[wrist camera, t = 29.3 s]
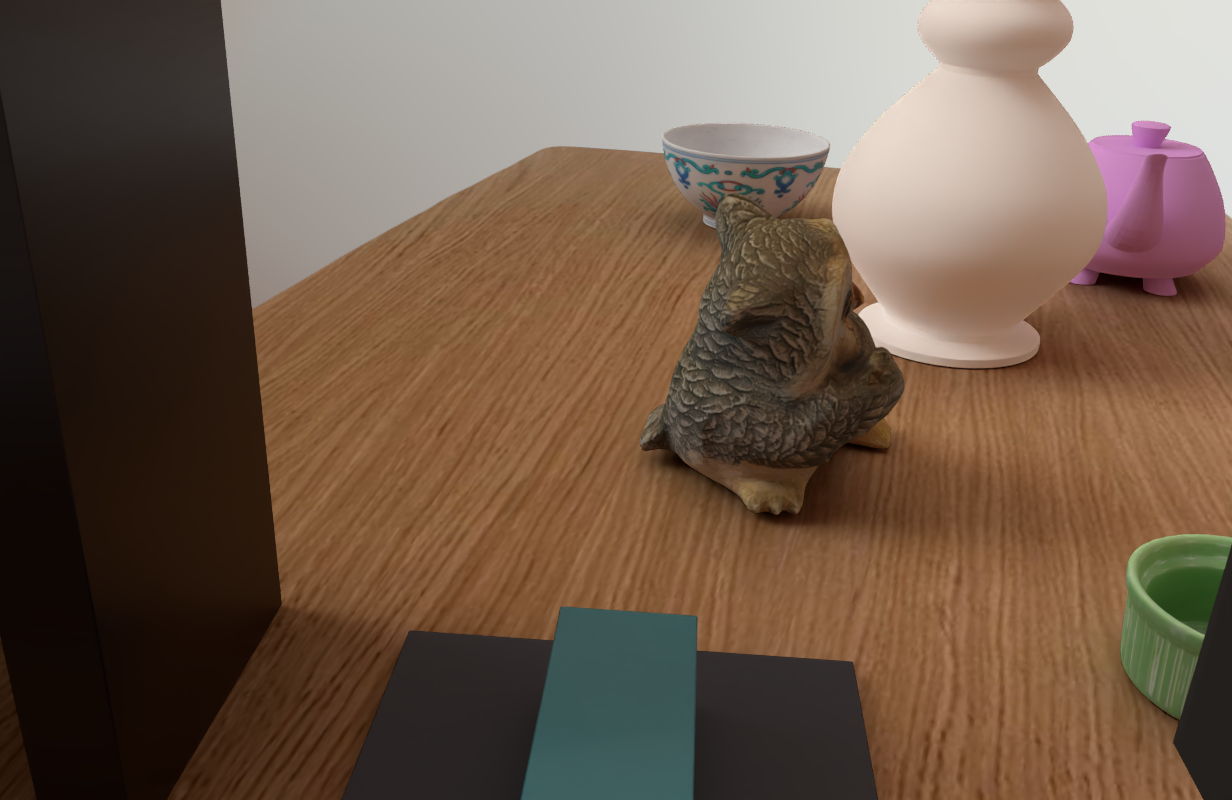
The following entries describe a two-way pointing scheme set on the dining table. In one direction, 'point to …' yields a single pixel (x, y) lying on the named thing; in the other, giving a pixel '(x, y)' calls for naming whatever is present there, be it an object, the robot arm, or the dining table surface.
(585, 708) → the teal rectangular block
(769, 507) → the figurine
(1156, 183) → the teapot
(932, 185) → the decorative vase
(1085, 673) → the dining table surface
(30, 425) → the shelf stand
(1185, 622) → the ramekin
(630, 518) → the dining table surface
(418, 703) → the mat
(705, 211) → the chinaware
